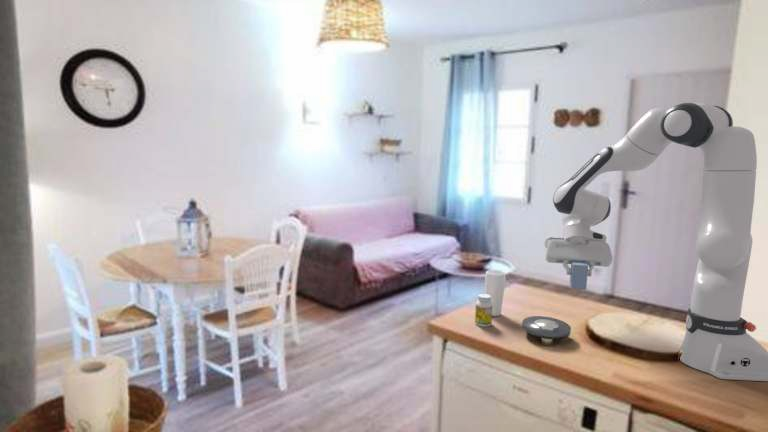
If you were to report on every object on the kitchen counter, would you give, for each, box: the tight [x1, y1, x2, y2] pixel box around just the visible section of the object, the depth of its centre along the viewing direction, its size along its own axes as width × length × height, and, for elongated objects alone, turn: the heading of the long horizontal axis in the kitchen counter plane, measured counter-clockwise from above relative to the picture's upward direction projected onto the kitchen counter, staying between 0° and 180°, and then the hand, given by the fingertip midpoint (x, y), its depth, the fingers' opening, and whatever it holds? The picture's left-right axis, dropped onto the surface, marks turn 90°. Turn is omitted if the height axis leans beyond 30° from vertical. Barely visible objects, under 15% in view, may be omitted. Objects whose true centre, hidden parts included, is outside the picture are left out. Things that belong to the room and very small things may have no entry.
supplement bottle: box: [474, 293, 493, 327], centre depth 151 cm, size 5×5×10 cm
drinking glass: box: [484, 269, 507, 317], centre depth 159 cm, size 7×7×15 cm
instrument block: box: [569, 261, 589, 291], centre depth 149 cm, size 4×4×8 cm
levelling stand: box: [521, 315, 572, 347], centre depth 142 cm, size 14×14×5 cm
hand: (579, 274), depth 149 cm, fingers closed on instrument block, 4 cm apart
